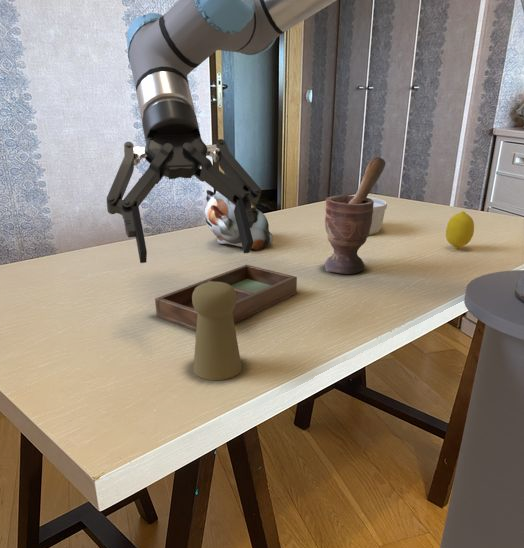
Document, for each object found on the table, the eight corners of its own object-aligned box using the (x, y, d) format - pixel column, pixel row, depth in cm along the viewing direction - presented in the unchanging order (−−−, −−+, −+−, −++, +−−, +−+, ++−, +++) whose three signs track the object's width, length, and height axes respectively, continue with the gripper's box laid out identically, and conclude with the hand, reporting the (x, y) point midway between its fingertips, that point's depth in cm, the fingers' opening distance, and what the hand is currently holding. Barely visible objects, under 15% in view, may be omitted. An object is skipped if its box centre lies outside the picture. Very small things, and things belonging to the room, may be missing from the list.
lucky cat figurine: (276, 250, 112) (250, 195, 103) (225, 271, 115) (194, 220, 105) (269, 215, 123) (244, 162, 114) (222, 235, 126) (195, 185, 116)
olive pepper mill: (248, 375, 65) (246, 290, 60) (199, 383, 63) (194, 296, 58) (233, 354, 70) (231, 274, 65) (188, 361, 68) (182, 279, 63)
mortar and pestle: (342, 256, 109) (349, 153, 100) (381, 263, 105) (392, 156, 96) (314, 270, 101) (319, 159, 92) (355, 279, 96) (365, 163, 87)
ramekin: (394, 229, 129) (397, 200, 126) (365, 240, 120) (368, 209, 117) (348, 221, 136) (350, 193, 133) (318, 231, 128) (319, 201, 125)
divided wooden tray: (296, 293, 90) (297, 276, 88) (209, 335, 75) (208, 316, 73) (246, 280, 96) (246, 264, 94) (156, 316, 81) (154, 298, 80)
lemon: (475, 249, 113) (482, 212, 109) (459, 254, 110) (465, 215, 106) (454, 244, 117) (460, 207, 113) (437, 248, 114) (443, 210, 111)
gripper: (249, 134, 80) (281, 257, 74) (77, 139, 73) (98, 276, 67) (260, 96, 73) (296, 229, 67) (71, 97, 66) (93, 246, 60)
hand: (197, 252), depth 67 cm, fingers open, 13 cm apart
